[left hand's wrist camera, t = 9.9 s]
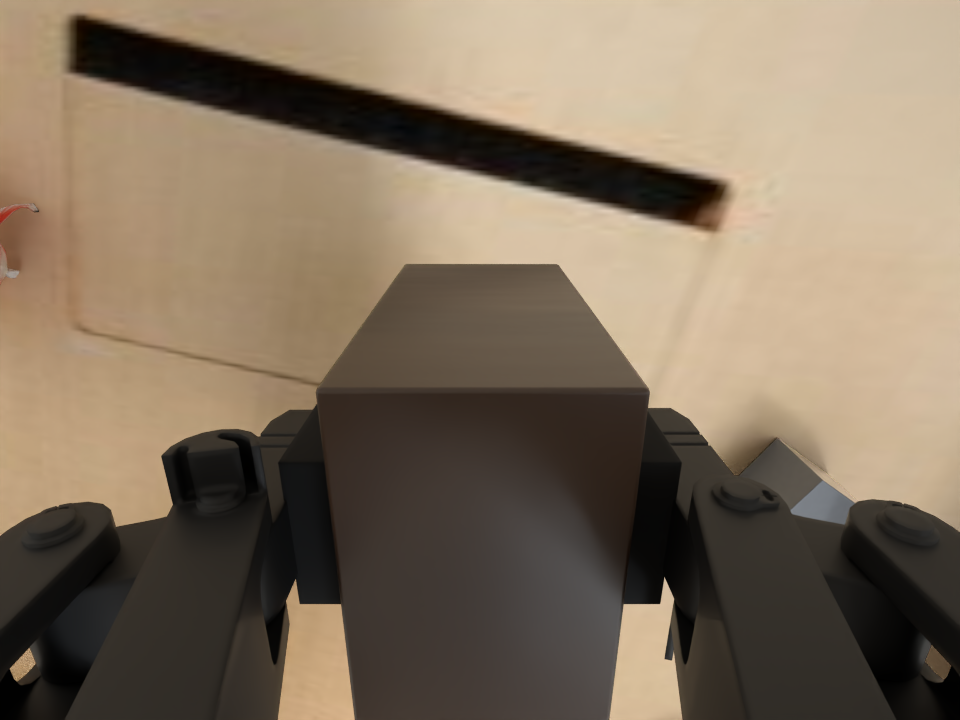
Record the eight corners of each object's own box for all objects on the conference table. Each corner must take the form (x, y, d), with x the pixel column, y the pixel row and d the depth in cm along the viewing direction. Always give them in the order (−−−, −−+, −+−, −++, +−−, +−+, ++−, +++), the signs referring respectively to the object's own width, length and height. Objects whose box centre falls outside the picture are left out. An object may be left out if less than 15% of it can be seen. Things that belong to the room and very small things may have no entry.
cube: (777, 437, 32) (822, 480, 27) (828, 474, 32) (881, 521, 28) (723, 490, 33) (759, 538, 29) (775, 524, 34) (817, 576, 30)
